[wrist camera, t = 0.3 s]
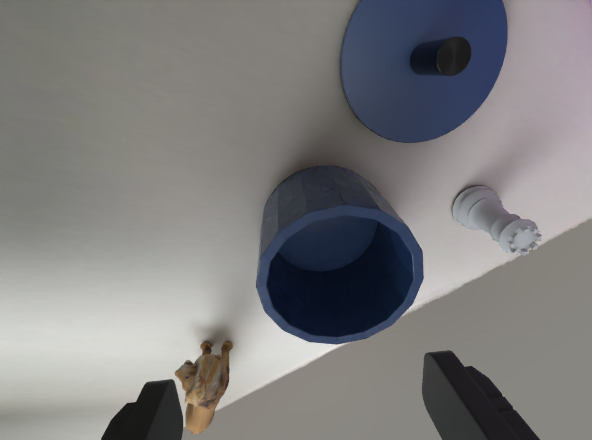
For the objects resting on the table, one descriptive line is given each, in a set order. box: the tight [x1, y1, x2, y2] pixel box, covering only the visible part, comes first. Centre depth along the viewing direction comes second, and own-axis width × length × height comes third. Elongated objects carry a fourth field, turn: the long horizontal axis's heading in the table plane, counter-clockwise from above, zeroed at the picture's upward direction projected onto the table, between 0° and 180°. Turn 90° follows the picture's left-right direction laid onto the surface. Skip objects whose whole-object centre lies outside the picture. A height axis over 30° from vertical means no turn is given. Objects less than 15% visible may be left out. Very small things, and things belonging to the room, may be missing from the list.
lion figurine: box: [175, 342, 233, 434], centre depth 36 cm, size 15×5×9 cm, turn 172°
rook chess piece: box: [453, 186, 542, 255], centre depth 29 cm, size 4×4×8 cm
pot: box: [256, 166, 424, 344], centre depth 28 cm, size 13×13×10 cm
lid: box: [340, 0, 507, 143], centre depth 24 cm, size 14×14×6 cm
